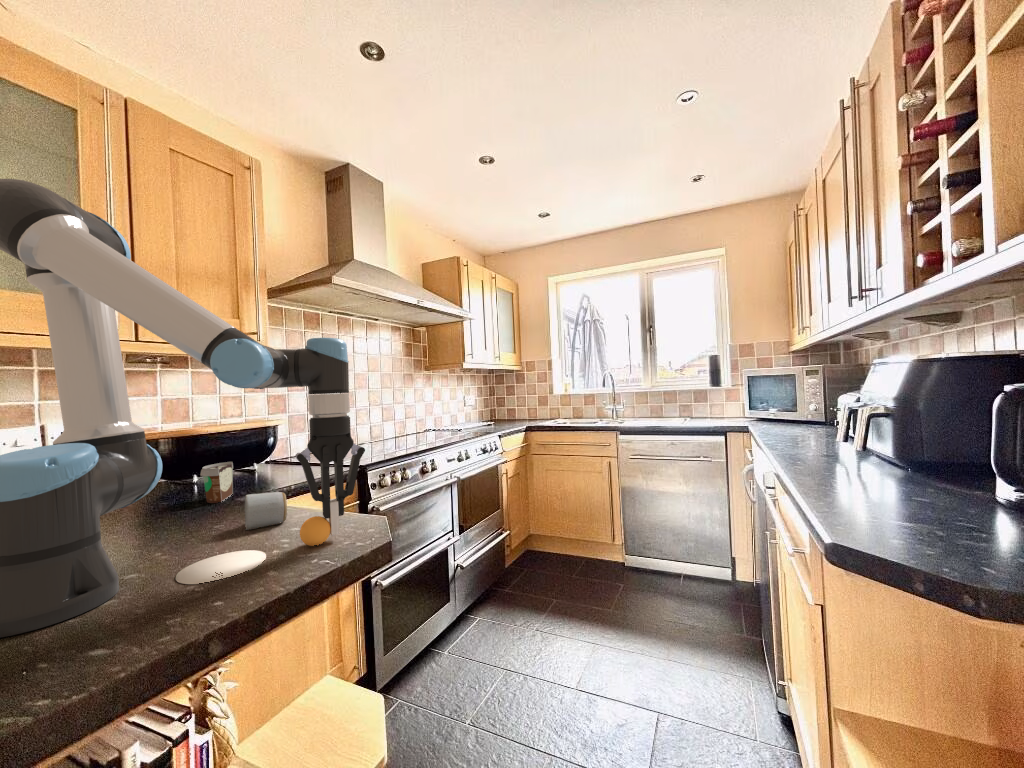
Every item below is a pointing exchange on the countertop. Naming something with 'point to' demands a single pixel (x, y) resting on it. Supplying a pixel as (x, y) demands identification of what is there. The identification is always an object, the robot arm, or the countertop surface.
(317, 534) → the ball
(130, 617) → the countertop surface
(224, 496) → the food container
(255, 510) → the ceramic mug
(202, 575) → the cream disc
